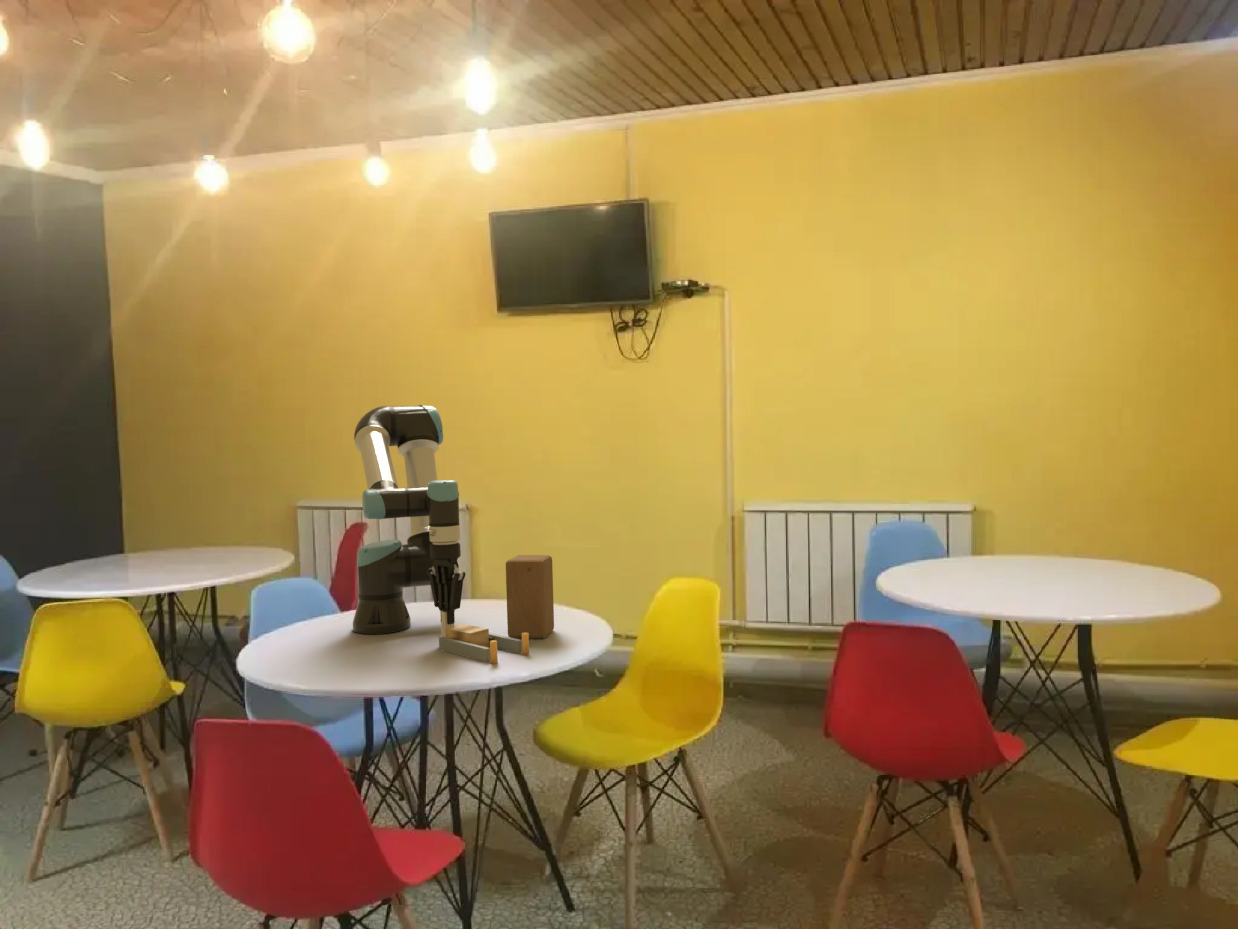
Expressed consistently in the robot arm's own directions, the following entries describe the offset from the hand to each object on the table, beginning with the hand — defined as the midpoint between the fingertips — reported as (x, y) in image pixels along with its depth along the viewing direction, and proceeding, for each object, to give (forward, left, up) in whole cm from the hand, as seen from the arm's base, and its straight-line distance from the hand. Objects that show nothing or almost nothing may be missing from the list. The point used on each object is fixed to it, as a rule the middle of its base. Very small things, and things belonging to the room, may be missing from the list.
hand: (448, 636), depth 229 cm
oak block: (+7, 0, -2) cm, 8 cm away
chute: (+14, 0, -2) cm, 14 cm away
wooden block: (+9, +19, -2) cm, 21 cm away
